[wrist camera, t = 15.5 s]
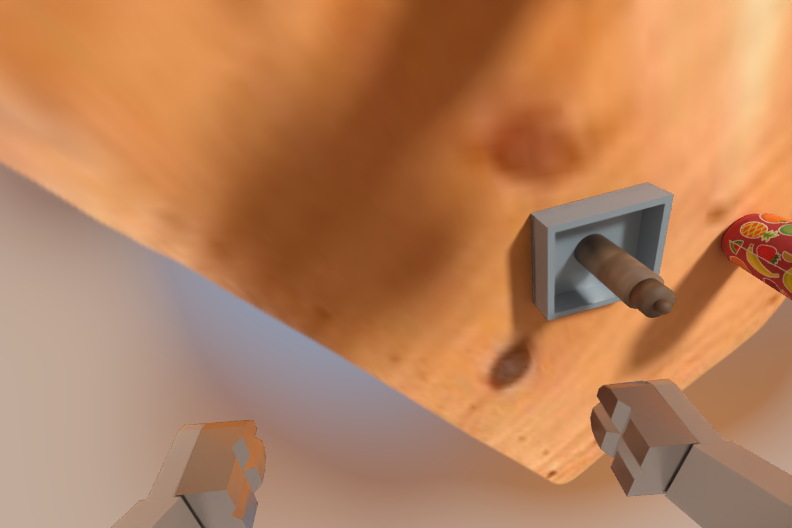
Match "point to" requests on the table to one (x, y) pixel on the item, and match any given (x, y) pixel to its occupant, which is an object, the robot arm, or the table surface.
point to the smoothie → (762, 249)
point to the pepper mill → (625, 276)
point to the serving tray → (568, 224)
